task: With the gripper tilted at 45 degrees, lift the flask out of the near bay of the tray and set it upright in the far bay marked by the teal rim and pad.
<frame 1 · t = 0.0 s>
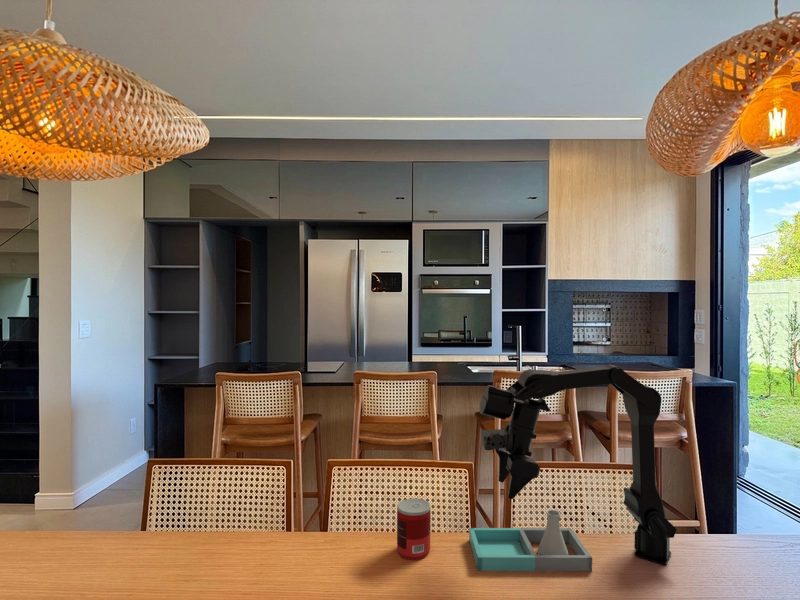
hand: (505, 489, 111), 15 cm above the table, tool pointing down, fingers open, 9 cm apart
canned food: (413, 552, 113), on the table
flask: (552, 555, 112), on the table
tray: (527, 554, 112), on the table
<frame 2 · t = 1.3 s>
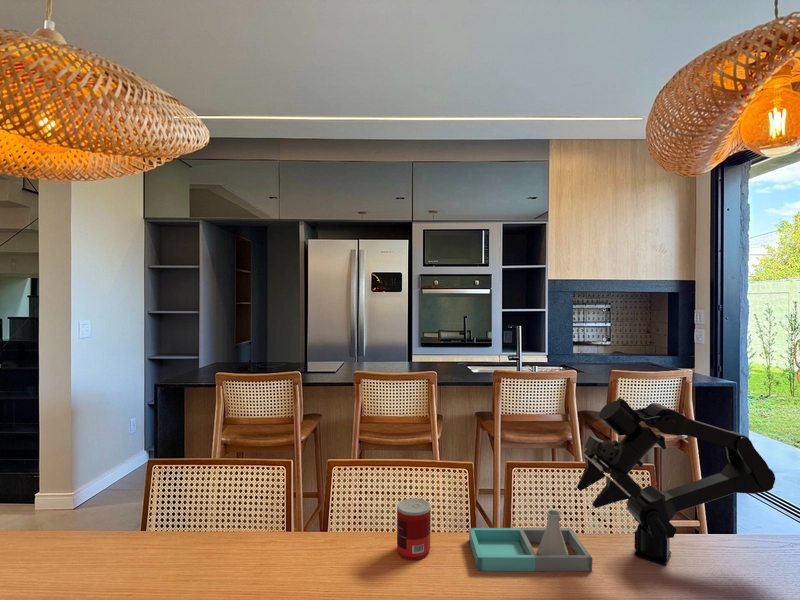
hand: (585, 497, 112), 13 cm above the table, tool tilted 45°, fingers open, 9 cm apart
nothing on the table moved.
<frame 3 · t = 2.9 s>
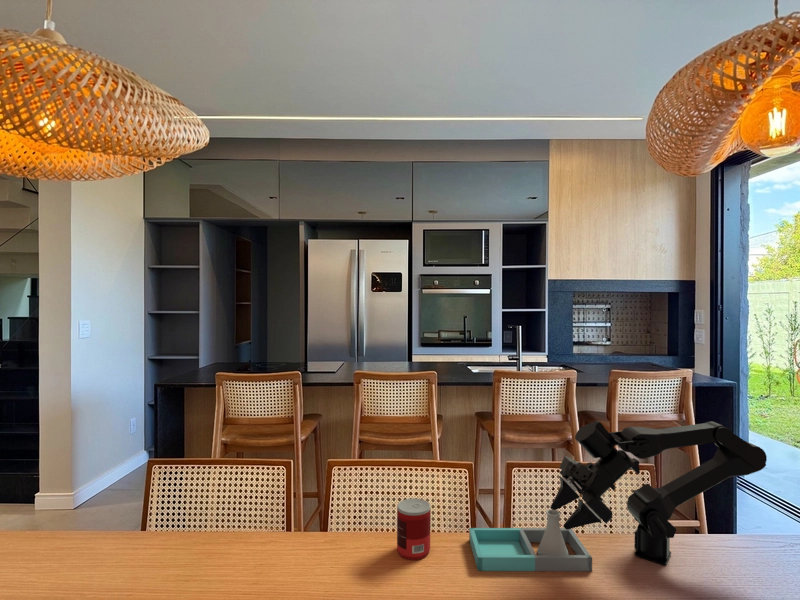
hand: (557, 518, 112), 9 cm above the table, tool tilted 45°, fingers open, 9 cm apart
nothing on the table moved.
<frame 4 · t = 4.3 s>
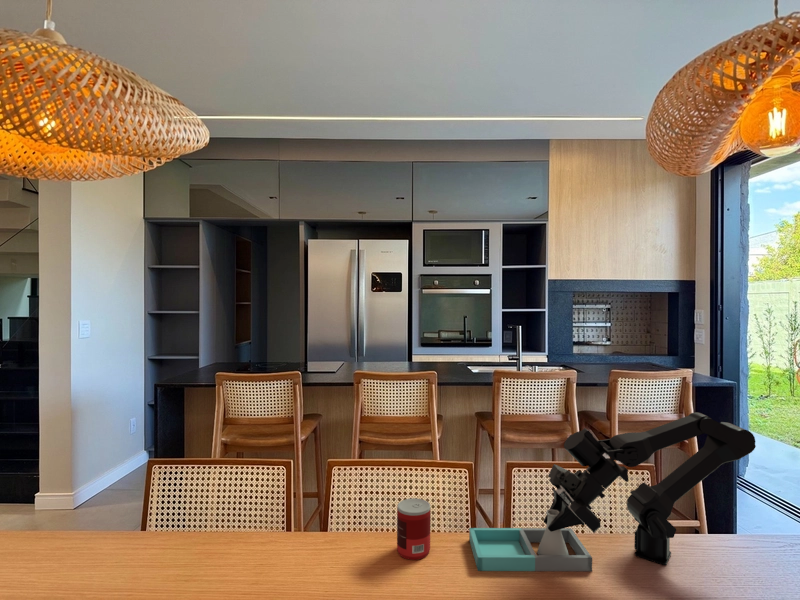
hand: (547, 526, 112), 7 cm above the table, tool tilted 45°, fingers closed on flask, 3 cm apart
flask: (552, 555, 112), on the table, touching gripper
everything else where it was.
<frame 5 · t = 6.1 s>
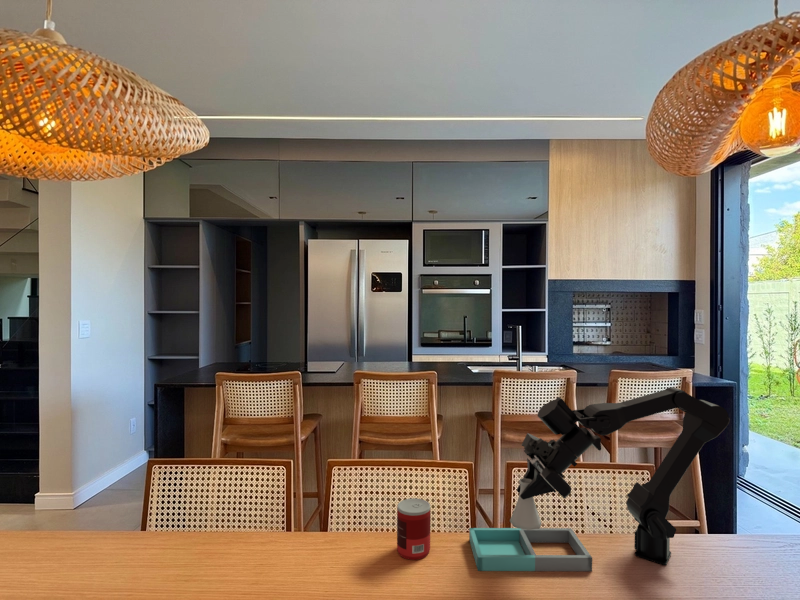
hand: (519, 494, 112), 14 cm above the table, tool tilted 45°, fingers closed on flask, 3 cm apart
flask: (525, 524, 112), point 7 cm above the table, touching gripper
everything else where it was.
when the fingers open (8 cm above the table, at t = 8.0 s): flask stays where it is, resting on tray.
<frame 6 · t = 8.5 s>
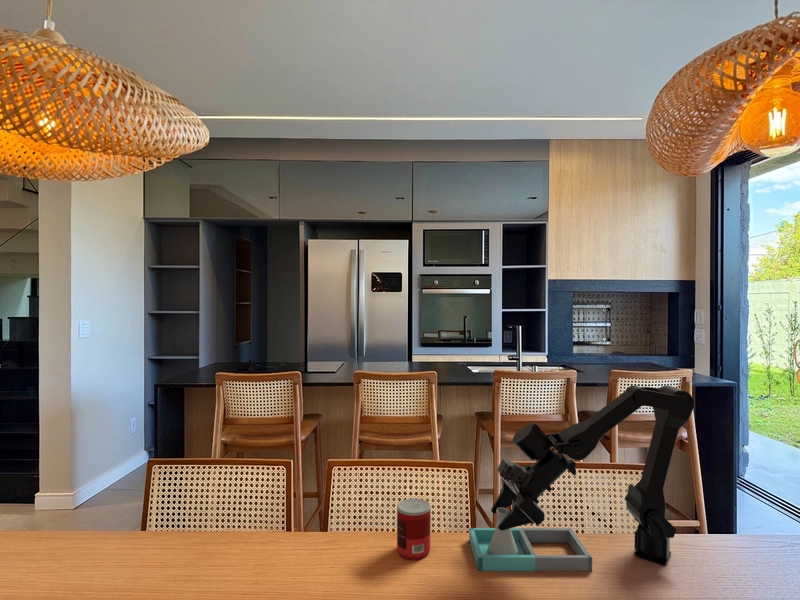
hand: (495, 520, 112), 8 cm above the table, tool tilted 45°, fingers open, 8 cm apart
flask: (502, 553, 112), resting on tray
everything else where it was.
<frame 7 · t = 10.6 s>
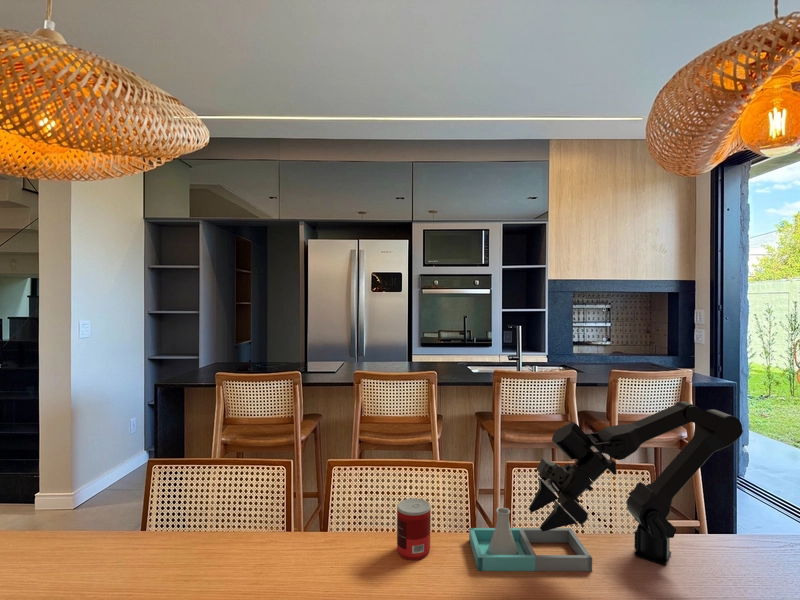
hand: (535, 519, 112), 8 cm above the table, tool tilted 45°, fingers open, 9 cm apart
nothing on the table moved.
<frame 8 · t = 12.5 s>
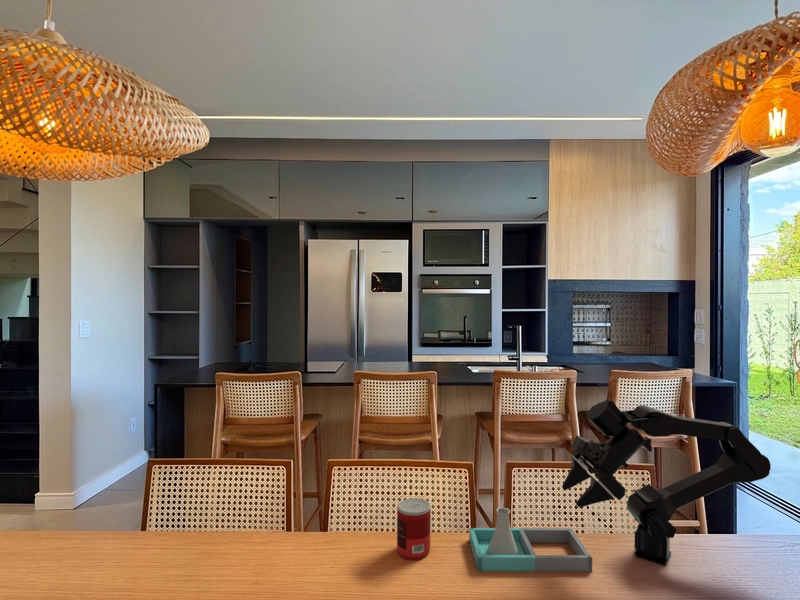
hand: (570, 496, 112), 14 cm above the table, tool tilted 45°, fingers open, 9 cm apart
nothing on the table moved.
at the end: flask 0.4 cm from the target spot on the tray, point 0.2 cm above the tray's base; flask tilted 0°; the gripper is holding nothing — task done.
